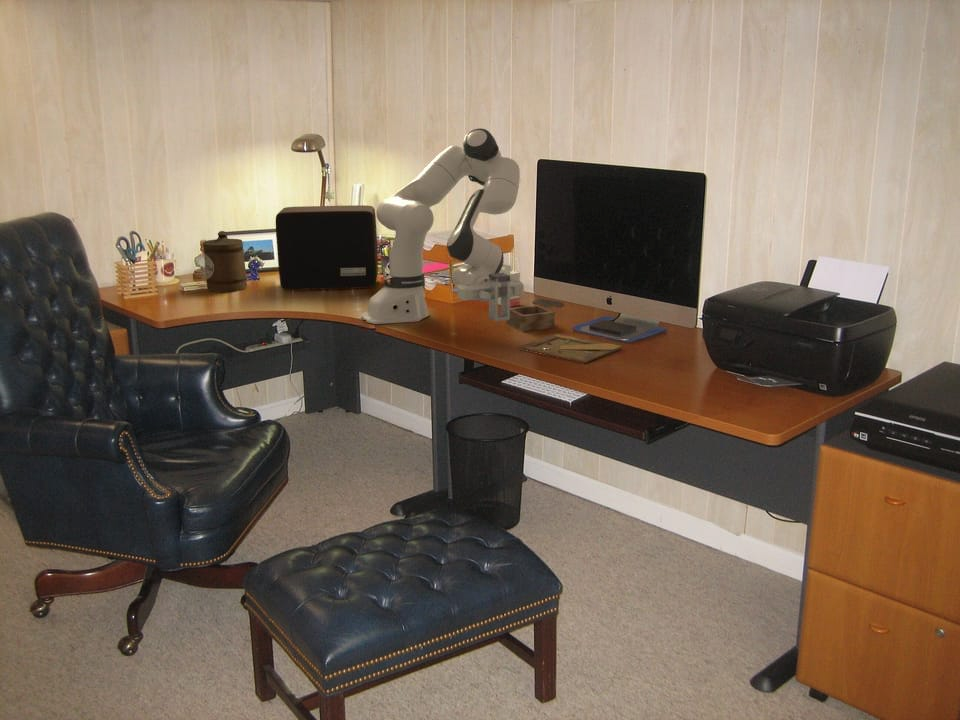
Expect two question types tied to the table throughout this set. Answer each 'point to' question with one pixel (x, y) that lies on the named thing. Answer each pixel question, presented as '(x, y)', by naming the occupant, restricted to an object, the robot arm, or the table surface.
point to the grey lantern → (504, 296)
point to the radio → (327, 247)
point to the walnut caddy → (531, 318)
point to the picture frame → (570, 348)
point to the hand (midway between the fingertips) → (500, 295)
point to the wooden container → (224, 264)
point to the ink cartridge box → (516, 275)
